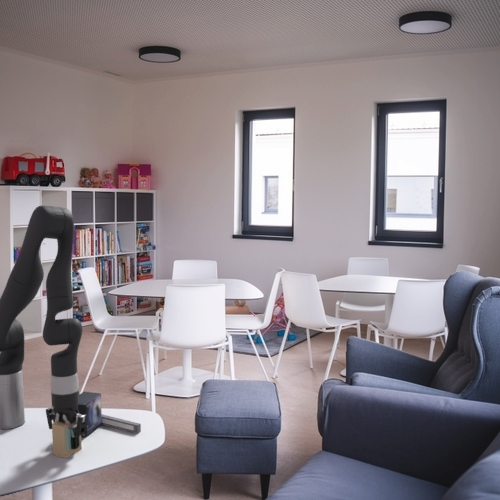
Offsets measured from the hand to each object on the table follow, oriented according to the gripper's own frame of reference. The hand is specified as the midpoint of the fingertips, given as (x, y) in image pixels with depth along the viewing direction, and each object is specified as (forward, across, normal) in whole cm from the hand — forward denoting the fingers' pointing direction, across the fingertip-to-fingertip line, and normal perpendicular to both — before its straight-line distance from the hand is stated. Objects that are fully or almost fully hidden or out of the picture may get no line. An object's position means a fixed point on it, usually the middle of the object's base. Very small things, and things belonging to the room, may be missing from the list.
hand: (67, 446), depth 187 cm
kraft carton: (+2, 0, 0) cm, 2 cm away
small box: (+2, +6, -14) cm, 16 cm away
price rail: (+2, +2, -21) cm, 21 cm away
